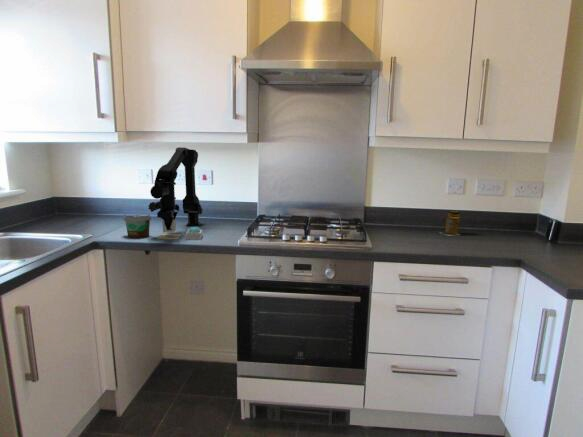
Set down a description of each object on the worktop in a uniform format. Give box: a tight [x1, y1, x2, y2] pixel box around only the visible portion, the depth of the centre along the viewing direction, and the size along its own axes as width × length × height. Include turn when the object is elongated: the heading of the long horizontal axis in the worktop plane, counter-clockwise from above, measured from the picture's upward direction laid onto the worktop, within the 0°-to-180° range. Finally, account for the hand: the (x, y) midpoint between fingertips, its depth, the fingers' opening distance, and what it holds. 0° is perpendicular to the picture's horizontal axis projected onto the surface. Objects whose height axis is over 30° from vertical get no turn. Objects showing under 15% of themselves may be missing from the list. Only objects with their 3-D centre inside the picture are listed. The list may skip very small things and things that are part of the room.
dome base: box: [185, 229, 203, 240], centre depth 172 cm, size 6×6×3 cm
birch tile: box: [157, 233, 182, 240], centre depth 173 cm, size 9×9×1 cm
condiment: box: [438, 210, 462, 237], centre depth 192 cm, size 7×8×12 cm
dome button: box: [188, 226, 200, 233], centre depth 172 cm, size 4×4×4 cm
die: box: [161, 218, 177, 233], centre depth 172 cm, size 5×5×5 cm
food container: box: [123, 214, 152, 239], centre depth 170 cm, size 12×6×10 cm, turn 92°
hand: (169, 228), depth 172 cm, fingers closed on die, 5 cm apart
